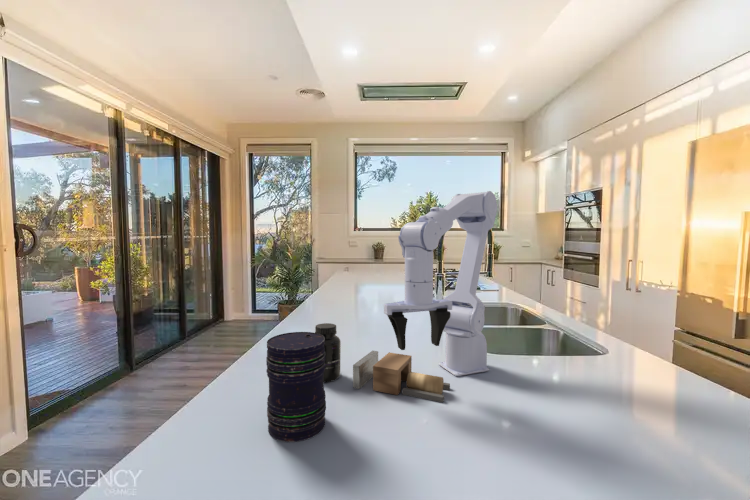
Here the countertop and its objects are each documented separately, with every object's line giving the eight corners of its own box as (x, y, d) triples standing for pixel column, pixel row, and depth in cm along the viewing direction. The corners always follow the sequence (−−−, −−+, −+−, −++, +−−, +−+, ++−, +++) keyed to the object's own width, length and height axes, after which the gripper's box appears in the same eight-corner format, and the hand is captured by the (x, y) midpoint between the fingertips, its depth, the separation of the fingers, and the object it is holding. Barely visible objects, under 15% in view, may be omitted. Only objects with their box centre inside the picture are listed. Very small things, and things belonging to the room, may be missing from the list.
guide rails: (449, 388, 73) (449, 383, 73) (442, 402, 66) (442, 397, 66) (412, 381, 76) (412, 376, 76) (402, 394, 70) (402, 389, 70)
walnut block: (411, 378, 77) (411, 355, 77) (397, 395, 69) (397, 370, 69) (389, 374, 80) (389, 352, 79) (373, 390, 71) (373, 365, 71)
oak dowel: (443, 390, 72) (443, 374, 71) (439, 399, 68) (439, 382, 68) (411, 384, 75) (411, 368, 74) (406, 392, 71) (406, 376, 71)
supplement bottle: (335, 384, 75) (335, 330, 74) (306, 381, 76) (305, 328, 75) (344, 372, 81) (344, 322, 81) (317, 369, 83) (316, 321, 82)
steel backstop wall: (378, 371, 81) (378, 351, 81) (359, 389, 72) (359, 366, 72) (372, 370, 82) (372, 350, 82) (353, 387, 73) (352, 365, 73)
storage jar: (297, 450, 52) (295, 353, 51) (254, 430, 57) (253, 342, 56) (337, 420, 60) (337, 336, 60) (297, 405, 65) (296, 328, 65)
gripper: (440, 276, 75) (440, 337, 76) (378, 279, 71) (379, 344, 71) (458, 281, 69) (457, 347, 69) (390, 284, 64) (391, 355, 65)
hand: (418, 346), depth 70 cm, fingers open, 7 cm apart
